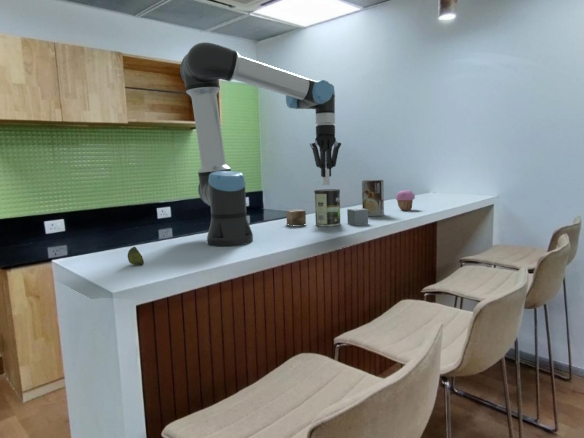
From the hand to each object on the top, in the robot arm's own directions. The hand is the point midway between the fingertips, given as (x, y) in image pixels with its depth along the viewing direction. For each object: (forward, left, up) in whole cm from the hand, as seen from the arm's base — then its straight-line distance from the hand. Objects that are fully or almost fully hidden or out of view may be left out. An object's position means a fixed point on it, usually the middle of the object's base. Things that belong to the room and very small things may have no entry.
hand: (326, 185), depth 167 cm
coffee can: (0, 0, -16) cm, 16 cm away
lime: (-74, -33, -16) cm, 82 cm away
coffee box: (+30, +13, -16) cm, 37 cm away
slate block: (+11, -5, -16) cm, 20 cm away
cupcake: (+53, +20, -16) cm, 59 cm away
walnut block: (-11, +7, -16) cm, 21 cm away
